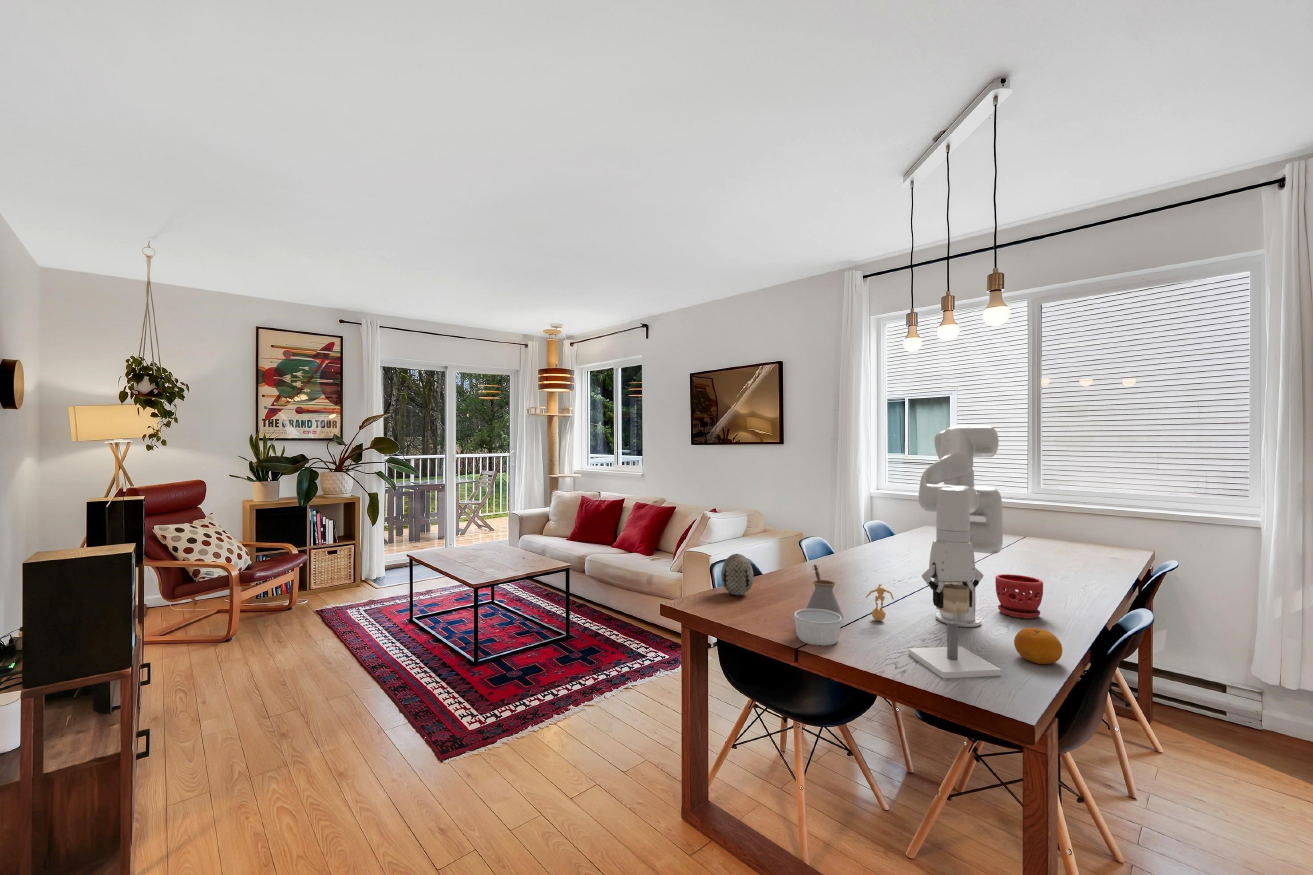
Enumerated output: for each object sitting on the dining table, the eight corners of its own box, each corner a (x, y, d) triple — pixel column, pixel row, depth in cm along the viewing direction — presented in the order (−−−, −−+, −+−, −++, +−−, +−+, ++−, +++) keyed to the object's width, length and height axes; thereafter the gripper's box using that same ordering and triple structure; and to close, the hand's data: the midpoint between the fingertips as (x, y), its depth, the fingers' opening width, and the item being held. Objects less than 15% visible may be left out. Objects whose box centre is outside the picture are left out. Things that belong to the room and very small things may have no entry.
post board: (908, 654, 149) (908, 614, 149) (960, 651, 151) (960, 612, 151) (943, 678, 134) (943, 634, 134) (1000, 675, 136) (1001, 632, 136)
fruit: (1009, 660, 145) (1009, 629, 145) (1019, 649, 152) (1019, 620, 152) (1058, 672, 138) (1058, 640, 138) (1066, 660, 145) (1066, 629, 145)
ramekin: (806, 628, 170) (806, 605, 170) (849, 638, 161) (849, 613, 161) (786, 640, 160) (786, 616, 160) (831, 651, 151) (831, 626, 151)
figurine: (890, 619, 178) (890, 581, 178) (895, 625, 172) (896, 586, 172) (863, 617, 179) (863, 580, 179) (867, 624, 173) (867, 585, 173)
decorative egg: (760, 596, 202) (760, 555, 202) (734, 601, 197) (734, 558, 196) (739, 588, 213) (739, 549, 212) (714, 593, 207) (714, 552, 207)
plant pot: (1052, 621, 176) (1053, 583, 176) (1010, 620, 176) (1010, 582, 176) (1026, 608, 189) (1026, 572, 189) (986, 607, 189) (987, 572, 189)
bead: (931, 605, 145) (931, 582, 145) (956, 605, 146) (956, 582, 146) (948, 614, 138) (948, 590, 138) (974, 613, 139) (974, 589, 139)
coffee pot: (847, 630, 167) (847, 580, 167) (807, 629, 168) (807, 579, 168) (832, 608, 188) (832, 564, 188) (797, 607, 189) (797, 563, 189)
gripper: (974, 533, 147) (974, 601, 147) (912, 534, 145) (912, 602, 145) (994, 538, 140) (994, 609, 140) (929, 539, 138) (929, 611, 138)
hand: (952, 605), depth 142 cm, fingers closed on bead, 7 cm apart
